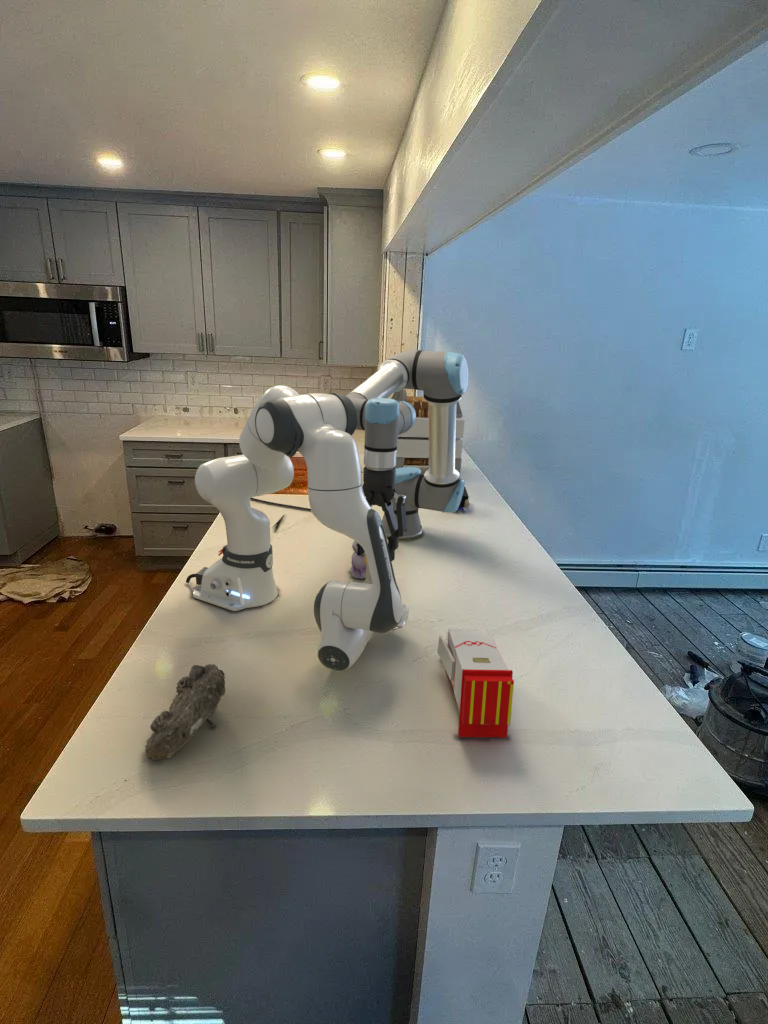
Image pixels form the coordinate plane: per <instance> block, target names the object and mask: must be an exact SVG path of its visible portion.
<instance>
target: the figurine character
mask: <svg viewBox="0 0 768 1024" xmlns="http://www.w3.org/2000/svg"><path fill="white" fill-rule="evenodd" d="M469 498H470V496H469V494H468V491H467V488H466V486H464V491H463V495H462V499H461V502H460V505H459V507H458V509H457V511H456V512H455V513H458V510H461V511H462V513H465V509H469V506H470V500H469Z"/></svg>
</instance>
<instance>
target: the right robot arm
mask: <svg viewBox="0 0 768 1024" xmlns="http://www.w3.org/2000/svg"><path fill="white" fill-rule="evenodd" d="M468 388H469V366H468V361H467V359H466V357H465V355H463V354H461V353H459V352H452V351H440V350H439V351H438V350H420V349H409V350H406V351H402V352H399V353H397V354H394V355H392V356H390V357H389V358H387V359H385V360H384V361H383V362H381V364H380V365H378V367H377V370H376V371H375V372H374V373H373V374H372V375H371V376H369V377H368V378H367V379H365V380H364V381H363V382H361V383H360V384H359V385H358V386H356V387H355V388H354V389H353V390H352V391H350V392H348V394H346V395H345V396H347V397H348V398H349V399H350V400H351V401H352V402H353V404H354V406H355V409H356V412H357V426H356V429H355V431H364V445H363V447H364V449H363V450H364V451H363V465H364V467H363V471H362V472H363V473H362V487H363V492H364V495H365V498H366V500H367V502H368V504H369V505H370V507H371V508H372V507H373V506H378V507H380V508H381V511H382V512H383V515H382V518H381V521H382V524H383V527H384V531H385V535H386V539H387V544H388V548H389V553H390V557H391V562H393V561H394V560H395V556H396V555H395V554H396V550H397V549H399V545H400V541H410V540H415V539H418V538H420V537H421V536H422V535H423V525H422V524H421V518H420V515H419V509H424V510H430V511H435V512H441V513H449V514H453V513H457V512H458V507H459V505H460V502H461V499H462V495H463V491H464V487H466V486H465V484H466V483H465V480H463V479H462V478H460V479H459V472H458V471H457V470H456V469H455V443H456V404H457V402H460V401H461V400H462V396H463V395H465V394H466V392H467V391H468ZM402 389H404V390H415V391H422V392H423V394H422V395H423V396H422V397H424V399H425V400H426V401H427V402H428V410H429V465H428V469H427V470H425V471H424V473H422V469H421V468H419V467H417V466H404V467H402V468H397V469H395V468H394V467H395V466H396V455H397V439H398V435H400V434H402V433H405V432H407V431H408V430H409V429H410V428H411V427H412V426H413V425H414V423H415V420H416V412H415V410H414V408H413V406H412V405H411V404H409V403H408V402H405V401H396V400H394V399H391V398H389V397H391V396H392V395H393V394H394V392H398V391H400V390H402ZM251 500H252V501H255V502H259V503H264V504H268V505H274V506H278V507H285V508H290V509H292V508H293V509H297V510H298V509H299V510H304V511H309V512H310V511H311V508H310V507H303V506H297V505H291V504H285V503H279V502H273V501H267V500H263V499H259V498H256V497H252V498H250V501H251ZM456 511H457V512H456ZM311 512H312V511H311ZM364 552H365V551H364V549H363V548H362V546H361V545H360V544H359V543H358V544H357V555H358V556H360V555H362V554H363V553H364Z"/></svg>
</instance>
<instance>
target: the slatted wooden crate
mask: <svg viewBox="0 0 768 1024" xmlns="http://www.w3.org/2000/svg"><path fill="white" fill-rule="evenodd" d="M407 394H408V393H407V389H402V390H400V391H398V392H394V393H393V394H392V395H391V398H390V399H394V400H396V401H405V402H408V403H409V404H411V405H412V406H413V408H414V410H415V412H416V420H415V423H414V425H413V426H412V427H411V428H410V429H409V430H408V431H407V432H405V433H402V434H400V435H398V439H397V455H396V466H395V467H394V468H395V469H397V468H402V467H405V466H406V467H417V466H418V467H429V410H428V402H427V401H426V400H425V399H424V397H423V396H415V395H414V396H413V395H412V396H411V395H407ZM464 429H465V419H464V418H463V411H462V408H461V405H460V401H458V402H457V404H456V443H455V469H456V470H457V471H458V472H459V479H461V472H462V461H463V460H462V453H463V442H464V441H463V440H462V439H463V438H464V431H465V430H464Z"/></svg>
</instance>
